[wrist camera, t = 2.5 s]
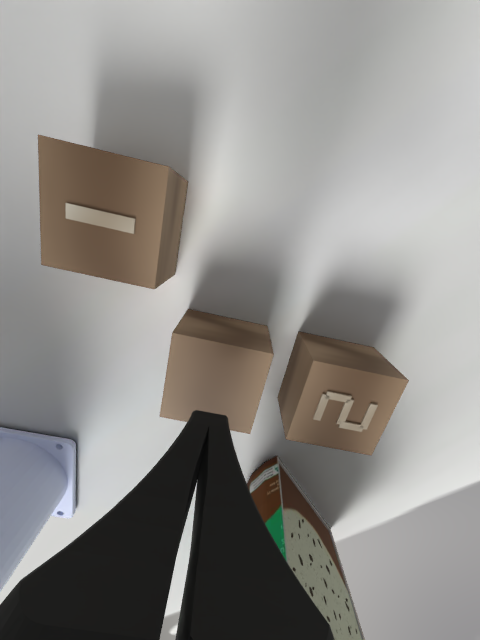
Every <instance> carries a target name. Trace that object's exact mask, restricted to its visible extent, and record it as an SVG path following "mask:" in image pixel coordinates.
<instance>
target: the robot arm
mask: <svg viewBox="0 0 480 640" xmlns="http://www.w3.org/2000/svg"><path fill="white" fill-rule="evenodd" d="M197 479H198V480H197ZM196 483H197V490H196V500H195V511H194V521H193V531H192V542H191V550H190V558H189V564H188V570H187V576H186V582H185V588H184V594H183V599H182V605H181V611H180V617H179V623H178V628H177V634H176V640H335V639H334V636H333V633H332V630H331V627H330V625H329V623H328V622H327V620H326V619H325V618H324V616H323V615H322V614H321V612H320V611H319V609H318V608H317V607H316V605H315V604H314V602H313V601H312V599H311V598H310V596H309V595H308V594H307V592H306V591H305V589H304V588H303V586H302V585H301V583H300V582H299V580H298V579H297V577H296V575H295V574H294V572H293V571H292V569H291V568H290V566H289V565H288V563H287V561H286V560H285V558H284V556H283V555H282V553H281V551H280V549H279V548H278V546H277V544H276V542H275V541H274V539H273V537H272V535H271V534H270V532H269V530H268V528H267V527H266V525H265V523H264V521H263V519H262V517H261V515H260V513H259V511H258V509H257V506H256V504H255V502H254V500H253V498H252V496H251V493H250V491H249V489H248V486H247V484H246V481H245V478H244V476H243V473H242V471H241V468H240V465H239V462H238V459H237V455H236V452H235V449H234V446H233V442H232V438H231V433H230V429H229V422H228V417H227V416H226V415H221V414H215V413H210V412H204V411H199V410H195V411H193V412H192V414H191V417H190V418H189V420H188V422H187V424H186V425H185V427H184V429H183V430H182V432H181V433H180V435H179V436H178V437H177V439H176V440H175V441H174V443H173V444H172V445H171V447H170V448H169V449H168V451H167V452H166V453H165V454H164V456H163V457H162V458H161V459H160V460H159V461H158V463H157V464H156V465H155V466H154V467H153V469H152V470H151V471H150V472H149V473H148V474H147V475H146V476H145V477H144V478H143V479H142V480H141V481H140V482H139V483H138V484H137V486H136V487H135V488H134V489H133V490H132V491H130V492H129V493H128V494H127V495H126V496H125V497H124V498H123V499H122V500H121V501H120V502H119V503H118V504H117V505H116V506H115V507H113V508H112V509H111V510H110V511H109V512H108V513H107V514H106V515H104V516H103V517H102V518H101V519H100V520H98V521H97V522H96V523H95V524H94V525H92V526H91V527H90V528H89V529H88V530H86V531H85V532H84V533H83V534H81V535H80V536H79V537H78V538H77V539H75V540H74V541H73V542H72V543H70V544H69V545H68V546H66V547H65V548H64V549H62V550H61V551H60V552H58V553H57V554H56V555H54V556H53V557H52V558H50V559H49V560H47V561H46V562H45V563H43V564H42V565H41V566H39V567H38V568H36V569H35V570H34V571H32V572H31V573H30V574H28V575H27V576H26V577H24V578H23V579H22V580H20V582H19V583H18V584H17V585H16V586H15V587H14V589H13V590H12V591H11V592H10V593H9V595H8V596H7V597H6V598H5V600H4V601H3V602H2V603H1V605H0V640H159V639H160V633H161V628H162V624H163V619H164V614H165V609H166V604H167V600H168V595H169V590H170V585H171V580H172V575H173V570H174V565H175V560H176V556H177V552H178V548H179V544H180V540H181V537H182V533H183V529H184V526H185V522H186V519H187V515H188V511H189V508H190V504H191V501H192V497H193V494H194V490H195V486H196ZM75 506H76V443H75V442H74V441H73V440H71V439H67V438H61V437H55V436H49V435H43V434H37V433H31V432H26V431H20V430H14V429H8V428H2V427H0V592H1V590H2V589H3V587H4V586H5V584H6V583H7V581H8V580H9V578H10V577H11V575H12V574H13V572H14V570H15V569H16V567H17V566H18V564H19V563H20V561H21V560H22V558H23V557H24V555H25V554H26V552H27V551H28V549H29V548H30V546H31V545H32V543H33V542H34V540H35V539H36V537H37V536H38V534H39V533H40V531H41V530H42V528H43V527H44V525H45V524H46V522H47V521H48V519H49V518H50V516H56V517H62V518H71V517H73V515H74V513H75Z"/></svg>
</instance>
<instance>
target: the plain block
mask: <svg viewBox="0 0 480 640" xmlns="http://www.w3.org/2000/svg"><path fill="white" fill-rule="evenodd" d="M273 355H274V353H273V349H272V344H271V340H270V336H269V331H268V327H267V326H265V325H260V324H256V323H251V322H246V321H242V320H237V319H233V318H228V317H223V316H219V315H214V314H209V313H205V312H200V311H196V310H191V309H188V310H187V311H186V313H185V314H184V316H183V317H182V319H181V320H180V322H179V324H178V325H177V327H176V328H175V330H174V331H173V333H172V338H171V345H170V352H169V358H168V365H167V371H166V378H165V385H164V391H163V398H162V404H161V411H160V417H164V418H169V419H174V420H180V421H185V422H188V420H189V418H190V417H191V414H192V412H193V411H195V410H199V411H204V412H210V413H215V414H221V415H226V416H227V417H228V422H229V429H230V430H232V431H237V432H243V433H248V434H250V432H251V429H252V426H253V422H254V419H255V416H256V412H257V409H258V405H259V402H260V399H261V395H262V392H263V389H264V385H265V382H266V379H267V375H268V372H269V368H270V365H271V362H272V358H273Z"/></svg>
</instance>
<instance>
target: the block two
mask: <svg viewBox="0 0 480 640" xmlns="http://www.w3.org/2000/svg"><path fill="white" fill-rule="evenodd" d="M408 381H409V380H408V379H407V378H406V377H405V376H404V375H403V374H401V373H400V372H399V371H398V370H397V369H396V368H395V367H394V366H393V365H392V364H391V363H390V362H389V361H388V360H387V359H385V358H384V357H383V356H382V355H381V354H380V353H379V352H378V351H377V350H376V349H375V348H374V347H369V346H364V345H360V344H355V343H350V342H346V341H341V340H336V339H332V338H327V337H322V336H318V335H313V334H308V333H304V332H299V331H298V334H297V337H296V341H295V344H294V347H293V350H292V353H291V356H290V359H289V363H288V366H287V369H286V372H285V375H284V378H283V381H282V385H281V388H280V391H279V394H278V402H279V407H280V412H281V417H282V422H283V427H284V433H285V438H286V439H287V440H292V441H297V442H303V443H308V444H313V445H319V446H324V447H329V448H335V449H340V450H345V451H351V452H356V453H361V454H367V455H372V453H373V451H374V449H375V447H376V445H377V443H378V441H379V439H380V437H381V435H382V433H383V431H384V429H385V427H386V425H387V423H388V421H389V419H390V417H391V415H392V413H393V411H394V409H395V407H396V405H397V403H398V401H399V399H400V397H401V395H402V393H403V391H404V389H405V387H406V385H407V383H408Z"/></svg>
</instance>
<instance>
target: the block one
mask: <svg viewBox="0 0 480 640" xmlns="http://www.w3.org/2000/svg"><path fill="white" fill-rule="evenodd" d="M38 154H39V193H40V231H41V265H45V266H49V267H54V268H58V269H63V270H68V271H72V272H77V273H82V274H86V275H91V276H95V277H100V278H105V279H109V280H114V281H119V282H123V283H128V284H132V285H137V286H142V287H146V288H151V289H156V288H157V287H158V286H160V285H161V284H162V283H164V282H165V281H167V280H168V279H169V278H171V277H172V276H173V275H175V271H176V264H177V257H178V250H179V243H180V236H181V228H182V221H183V214H184V207H185V200H186V193H187V186H188V181H187V180H185V179H184V178H183V177H182V176H180V175H179V174H178V173H176V172H175V171H174V170H173V169H171V168H170V167H168V166H164V165H160V164H156V163H152V162H148V161H144V160H140V159H135V158H131V157H127V156H123V155H119V154H115V153H111V152H107V151H103V150H99V149H95V148H91V147H87V146H82V145H78V144H74V143H70V142H66V141H62V140H58V139H54V138H50V137H46V136H42V135H38Z"/></svg>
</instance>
